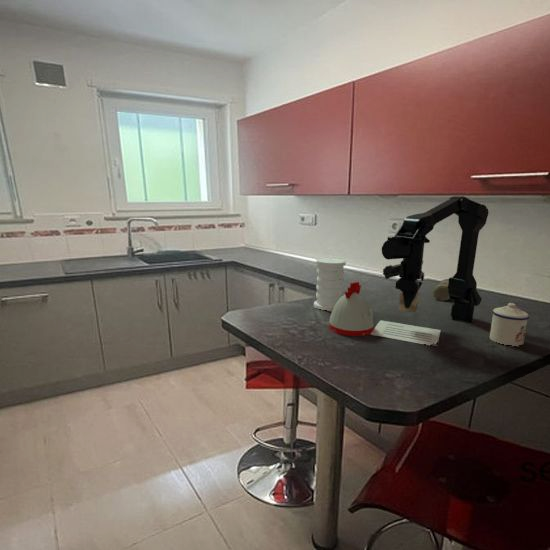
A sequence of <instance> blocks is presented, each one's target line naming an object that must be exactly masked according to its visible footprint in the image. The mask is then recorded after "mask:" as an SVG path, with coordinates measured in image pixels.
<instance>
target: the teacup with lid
mask: <svg viewBox="0 0 550 550" xmlns="http://www.w3.org/2000/svg"><path fill="white" fill-rule="evenodd" d="M529 318H530V316H529V314H528V313H527V312H526V311H524V310H521V309H520V308H518V307H517V305H516V304H515V303H513V302H508V303H507V305H504V306H501V307H495V308H494V309H493V310H492V320H491V326H490V332H489V339H490V340H491V341H492V342H494V343H496V342H497V343H496V344H498V343H500V344H499V345H501V344H504V345H503V346H506V345H512V346H511V347H514V346H516V347H520V346H519V345H522V344H523V345H524V342H525V336H526V330H527V325H528V320H529ZM523 345H522V346H523Z"/></svg>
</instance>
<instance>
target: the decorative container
mask: <svg viewBox="0 0 550 550" xmlns="http://www.w3.org/2000/svg"><path fill="white" fill-rule="evenodd" d="M315 262H316V265H317V269H316V273H317V277H316V286H315V289H316V294H315V297H316V300H315V301H314V302H313V307H314V308H315V309H316V308H318V309H317V310H319V309H321V310H320V311H323V310H327V311H326V312H332V311H331V310H332V306H335V304H336V303H337V301H338V300H339V299H340V298H341V297H342V296H343V289H344V286H343V283H344V275H345V274H344V273H345V270H344V266H346V260H344V259H340V258H331V257H328V258H327V257H326V258H318V259H316V261H315Z"/></svg>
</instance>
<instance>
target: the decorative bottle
mask: <svg viewBox="0 0 550 550" xmlns="http://www.w3.org/2000/svg"><path fill="white" fill-rule="evenodd" d="M448 284H449V278H445V279H443V280H440V282H439V283H438V284H437V286H435V288H434V289H433V291H432V296H433V298H435V300H437V301H439V302H440V301H441V302H443V301H448V300H450V297H449V293H448V288H447V287H448Z"/></svg>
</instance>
